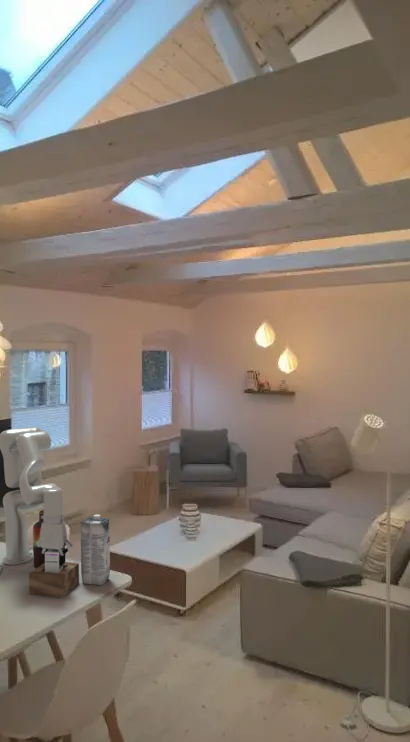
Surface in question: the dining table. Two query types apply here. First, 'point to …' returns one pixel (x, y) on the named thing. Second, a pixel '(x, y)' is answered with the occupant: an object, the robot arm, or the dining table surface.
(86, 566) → the juice carton
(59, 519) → the robot arm
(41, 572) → the socket block
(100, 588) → the dining table surface
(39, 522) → the vase
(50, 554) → the syrup box
